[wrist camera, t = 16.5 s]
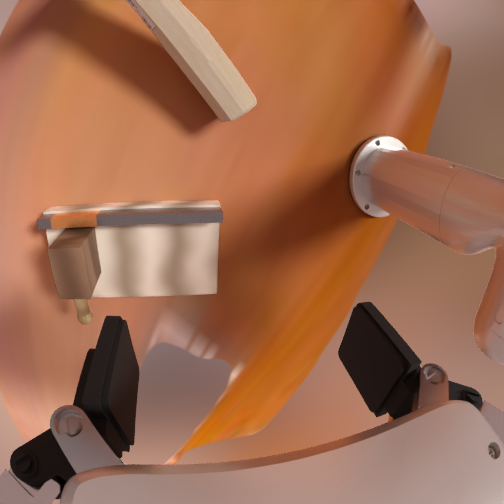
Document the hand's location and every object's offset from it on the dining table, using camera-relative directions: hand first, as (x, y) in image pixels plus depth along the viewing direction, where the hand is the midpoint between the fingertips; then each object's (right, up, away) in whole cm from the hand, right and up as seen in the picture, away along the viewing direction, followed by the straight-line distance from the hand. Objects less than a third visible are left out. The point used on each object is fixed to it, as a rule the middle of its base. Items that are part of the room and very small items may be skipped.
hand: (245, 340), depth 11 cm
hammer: (-10, +29, +12) cm, 33 cm away
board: (-15, +4, +22) cm, 27 cm away
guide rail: (-14, +8, +18) cm, 24 cm away
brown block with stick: (-20, +2, +19) cm, 28 cm away
